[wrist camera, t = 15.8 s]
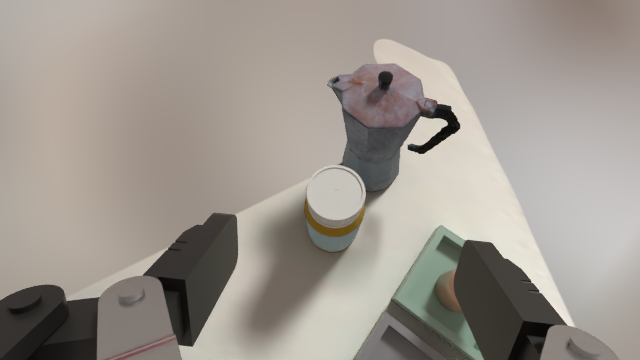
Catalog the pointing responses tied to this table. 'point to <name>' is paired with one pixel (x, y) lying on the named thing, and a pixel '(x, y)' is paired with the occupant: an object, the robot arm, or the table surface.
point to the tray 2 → (395, 343)
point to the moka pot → (384, 119)
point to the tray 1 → (421, 295)
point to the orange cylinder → (447, 291)
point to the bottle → (334, 207)
